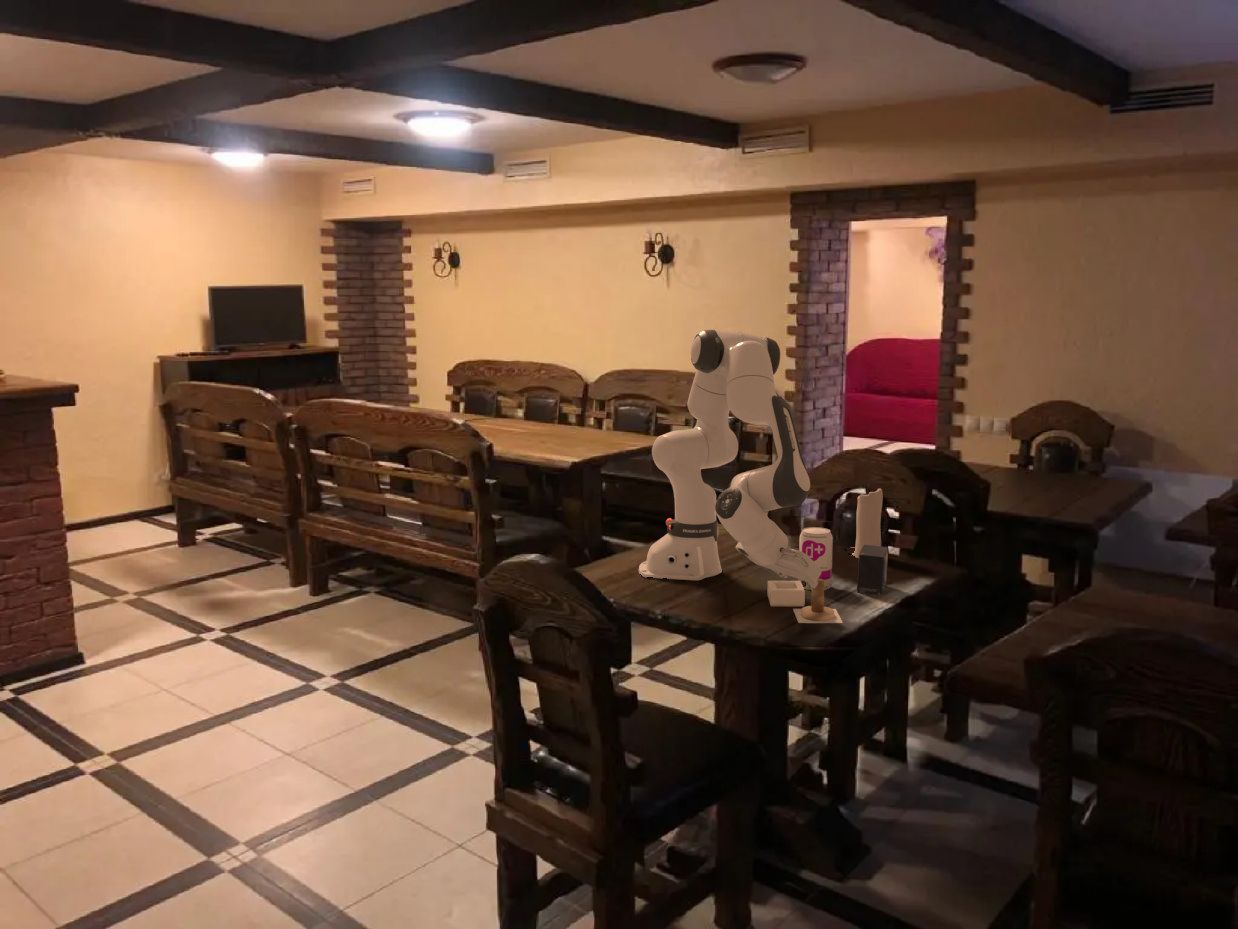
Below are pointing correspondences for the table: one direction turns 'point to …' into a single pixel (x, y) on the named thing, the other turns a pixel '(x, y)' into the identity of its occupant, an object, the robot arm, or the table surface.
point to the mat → (803, 620)
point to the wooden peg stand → (817, 605)
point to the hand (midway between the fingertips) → (799, 580)
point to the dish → (786, 593)
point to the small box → (872, 569)
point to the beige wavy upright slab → (868, 520)
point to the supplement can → (818, 552)
